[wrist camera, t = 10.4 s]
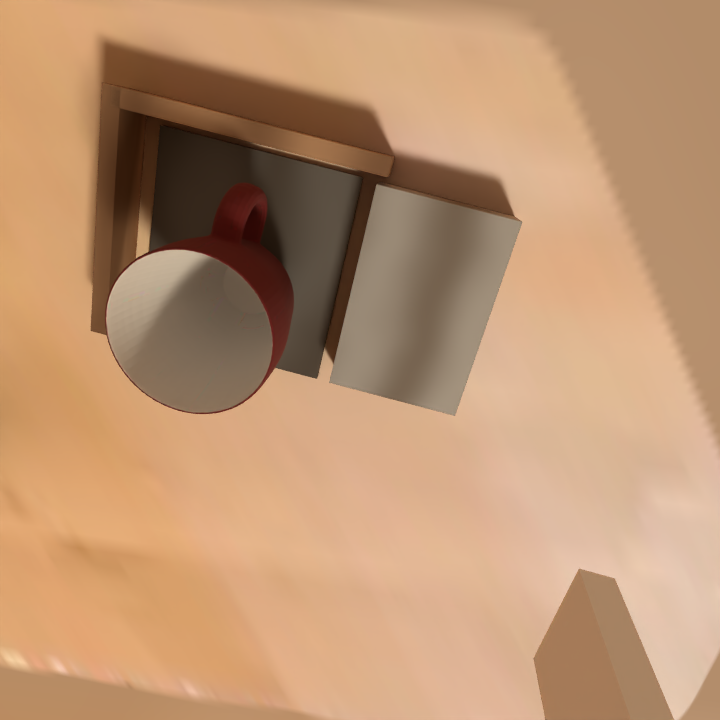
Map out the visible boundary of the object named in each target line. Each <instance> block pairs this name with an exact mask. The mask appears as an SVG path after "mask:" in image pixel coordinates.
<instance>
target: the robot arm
mask: <svg viewBox="0 0 720 720" xmlns="http://www.w3.org/2000/svg"><path fill="white" fill-rule="evenodd" d="M534 663H535V668H536V673H537V678H538V684H539V689H540V694H541V699H542V704H543V709H544V714H545V720H674V719H673V716H672V714H671V712H670V709H669V707H668V704H667V702H666V700H665V697H664V695H663V692H662V690H661V688H660V685H659V683H658V681H657V678H656V676H655V673H654V671H653V669H652V666H651V664H650V661H649V659H648V657H647V654H646V652H645V650H644V647H643V645H642V642H641V640H640V638H639V635H638V633H637V631H636V628H635V626H634V623H633V621H632V619H631V616H630V614H629V611H628V609H627V607H626V604H625V602H624V600H623V597H622V595H621V592H620V590H619V588H618V585H617V583H616V581H615V579H614V578H611V577H607V576H604V575H600V574H596V573H593V572H589V571H585V570H582V569H579V570H578V572H577V574H576V576H575V578H574V580H573V582H572V584H571V586H570V588H569V590H568V592H567V593H566V595H565V597H564V599H563V601H562V603H561V605H560V607H559V609H558V611H557V613H556V615H555V617H554V619H553V621H552V623H551V625H550V627H549V629H548V631H547V633H546V635H545V637H544V639H543V641H542V643H541V645H540V647H539V649H538V651H537V653H536V655H535V656H534Z"/></svg>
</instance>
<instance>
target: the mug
mask: <svg viewBox="0 0 720 720" xmlns="http://www.w3.org/2000/svg"><path fill="white" fill-rule="evenodd" d="M266 216H267V197H266V195H265V193H264V192H263V190H262V189H260V188H259V187H257V186H255V185H253V184H250V183H237V184H235V185H234V186H232V187H231V188H230V189H229V190H228V191H227V192H226V194H225V195H224V197H223V198H222V200H221V202H220V204H219V206H218V209H217V212H216V214H215V218H214V221H213V226H212V231H211V234H210V235H208V236H203V237H196V238H189V239H184V240H180V241H176V242H173V243H170V244H167V245H164V246H162V247H159V248H157V249H155V250H152V251H150V252H148V253H146V254H144V255H142V256H140V257H138V258H137V259H135V260H134V261H132V262H131V263H130V264H129V265H128V266H126V267H125V268H124V269H123V270H122V272H121V273H120V274H119V275H118V277H117V278H116V280H115V281H114V283H113V285H112V287H111V289H110V292H109V295H108V298H107V302H106V309H105V328H106V334H107V338H108V342H109V345H110V348H111V351H112V353H113V355H114V357H115V359H116V361H117V363H118V365H119V366H120V368H121V369H122V371H123V372H124V373H125V375H126V376H127V377H128V378H129V379H130V381H131V382H132V383H133V384H134V385H135V386H136V387H137V388H139V389H140V390H141V391H142V392H143V393H145V394H146V395H147V396H149V397H150V398H152V399H153V400H155V401H157V402H159V403H161V404H163V405H165V406H167V407H169V408H172V409H175V410H178V411H182V412H187V413H193V414H212V413H218V412H223V411H226V410H229V409H232V408H234V407H237V406H238V405H240V404H242V403H244V402H245V401H246V400H248V399H249V398H250V397H252V396H253V395H254V394H255V393H256V392H257V391H258V390H259V389H260V387H261V386H262V385H263V384H264V382H265V381H266V380H267V378H268V377H269V376H270V374H271V373H272V371H273V370H274V368H275V367H276V366H277V364H278V362H279V360H280V358H281V356H282V354H283V352H284V349H285V346H286V343H287V339H288V335H289V330H290V325H291V320H292V315H293V309H294V292H293V287H292V283H291V280H290V278H289V275H288V273H287V271H286V269H285V268H284V266H283V265H282V264H281V262H280V261H279V260H278V259H277V258H276V257H275V256H274V255H273V254H272V253H271V252H270V251H268V250H267V249H266V248H265V247H264V246H262V245H261V244H260V241H261V237H262V233H263V229H264V225H265V221H266Z"/></svg>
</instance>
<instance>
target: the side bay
mask: <svg viewBox="0 0 720 720" xmlns="http://www.w3.org/2000/svg"><path fill="white" fill-rule="evenodd" d="M146 115H148V116H152V117H156V118H160V119H164V120H167V121H171V122H175V123H179V124H183V125H187V126H191V127H194V128H198V129H202V130H206V131H210V132H214V133H218V134H222V135H225V136H229V137H233V138H237V139H241V140H245V141H249V142H252V143H256V144H260V145H264V146H268V147H272V148H276V149H279V150H283V151H287V152H291V153H295V154H299V155H303V156H307V157H310V158H314V159H318V160H322V161H326V162H330V163H334V164H337V165H341V166H345V167H349V168H353V169H357V170H361V171H364V172H368V173H372V174H376V175H380V176H384V177H389V176H390V175H391V171H392V167H393V163H394V159H395V157H394V156H390V155H386V154H383V153H379V152H375V151H371V150H367V149H363V148H359V147H355V146H352V145H348V144H344V143H340V142H336V141H332V140H328V139H324V138H321V137H317V136H313V135H309V134H305V133H301V132H297V131H294V130H290V129H286V128H282V127H278V126H274V125H270V124H266V123H263V122H259V121H255V120H251V119H247V118H243V117H239V116H235V115H232V114H228V113H224V112H220V111H216V110H212V109H208V108H204V107H201V106H197V105H193V104H189V103H185V102H181V101H177V100H173V99H170V98H166V97H162V96H158V95H154V94H150V93H146V92H143V91H139V90H135V89H131V88H126V87H121V86H116V85H112V84H107V83H102V95H101V117H100V139H99V161H98V183H97V205H96V227H95V249H94V271H93V293H92V315H91V331H93V332H97V333H101V334H105V335H107V334H106V328H105V309H106V302H107V298H108V295H109V292H110V289H111V287H112V285H113V283H114V281H115V280H116V278H117V277H118V275H119V274H120V273H121V272H122V270H123V269H124V268H125V267H126V266H128V265H129V264H130V263H131V262H132V261H134V260H135V259H136V247H137V233H138V220H139V207H140V194H141V181H142V167H143V154H144V141H145V128H146ZM362 180H363V177H360V176H356V175H352V174H349V173H345V172H341V171H337V170H333V169H329V168H325V167H322V166H318V165H314V164H310V163H306V162H302V161H298V160H294V159H291V158H287V157H283V156H279V155H275V154H271V153H267V152H264V151H260V150H256V149H252V148H248V147H244V146H240V145H237V144H233V143H229V142H225V141H221V140H217V139H213V138H210V137H206V136H202V135H198V134H194V133H190V132H186V131H183V130H179V129H175V128H171V127H167V126H163V125H160V134H159V146H158V158H157V170H156V181H155V193H154V205H153V216H152V228H151V240H150V251H152V250H155V249H157V248H159V247H162V246H164V245H167V244H170V243H173V242H176V241H180V240H184V239H189V238H196V237H203V236H208V235H210V234H211V231H212V226H213V221H214V218H215V214H216V212H217V209H218V206H219V204H220V202H221V200H222V198H223V197H224V195H225V194H226V192H227V191H228V190H229V189H230V188H231V187H232V186H234V185H235V184H237V183H250V184H253V185H255V186H257V187H259V188H260V189H262V190H263V192H264V193H265V195H266V197H267V216H266V221H265V225H264V229H263V233H262V237H261V241H260V244H261V245H262V246H264V247H265V248H266V249H267V250H268V251H270V252H271V253H272V254H273V255H274V256H275V257H276V258H277V259H278V260H279V261H280V262H281V264H282V265H283V266H284V268H285V269H286V271H287V273H288V275H289V278H290V280H291V283H292V287H293V292H294V309H293V315H292V320H291V325H290V330H289V335H288V339H287V343H286V346H285V349H284V352H283V354H282V356H281V358H280V360H279V362H278V364H277V366H276V367H275V368H278V369H282V370H286V371H289V372H293V373H297V374H301V375H305V376H308V377H312V378H316V379H317V377H318V373H319V369H320V365H321V360H322V356H323V351H324V347H325V343H326V338H327V334H328V329H329V325H330V321H331V316H332V312H333V307H334V303H335V299H336V294H337V290H338V286H339V281H340V277H341V272H342V268H343V264H344V259H345V255H346V250H347V246H348V242H349V237H350V233H351V228H352V224H353V220H354V215H355V211H356V206H357V202H358V198H359V193H360V189H361V185H362ZM521 224H522V221H520V220H519V219H518V218H516V217H515V216H511V215H507V214H503V213H499V212H495V211H491V210H488V209H484V208H480V207H476V206H472V205H468V204H464V203H461V202H457V201H453V200H449V199H445V198H441V197H437V196H433V195H430V194H426V193H422V192H418V191H414V190H410V189H406V188H403V187H399V186H395V185H391V184H387V183H383V182H379V183H377V184H376V188H375V193H374V197H373V201H372V205H371V209H370V214H369V218H368V222H367V226H366V230H365V235H364V239H363V243H362V247H361V251H360V256H359V260H358V264H357V268H356V272H355V277H354V281H353V285H352V289H351V293H350V298H349V302H348V306H347V310H346V314H345V319H344V323H343V327H342V331H341V335H340V340H339V344H338V348H337V352H336V356H335V361H334V365H333V369H332V373H331V377H330V382H329V383H333V384H336V385H340V386H344V387H348V388H351V389H355V390H359V391H363V392H367V393H370V394H374V395H378V396H382V397H385V398H389V399H393V400H397V401H401V402H404V403H408V404H412V405H416V406H420V407H423V408H427V409H431V410H435V411H438V412H442V413H446V414H450V415H454V416H455V414H456V411H457V408H458V406H459V403H460V400H461V397H462V394H463V391H464V388H465V385H466V383H467V380H468V377H469V374H470V371H471V368H472V365H473V362H474V360H475V357H476V354H477V351H478V348H479V345H480V342H481V339H482V337H483V334H484V331H485V328H486V325H487V322H488V319H489V316H490V314H491V311H492V308H493V305H494V302H495V299H496V296H497V293H498V291H499V288H500V285H501V282H502V279H503V276H504V273H505V270H506V268H507V265H508V262H509V259H510V256H511V253H512V250H513V247H514V245H515V242H516V239H517V236H518V233H519V230H520V227H521Z"/></svg>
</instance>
